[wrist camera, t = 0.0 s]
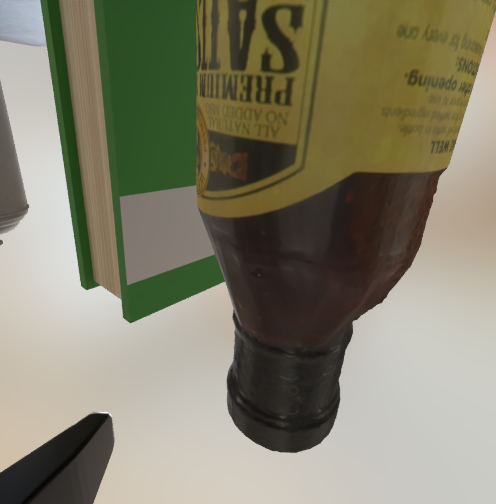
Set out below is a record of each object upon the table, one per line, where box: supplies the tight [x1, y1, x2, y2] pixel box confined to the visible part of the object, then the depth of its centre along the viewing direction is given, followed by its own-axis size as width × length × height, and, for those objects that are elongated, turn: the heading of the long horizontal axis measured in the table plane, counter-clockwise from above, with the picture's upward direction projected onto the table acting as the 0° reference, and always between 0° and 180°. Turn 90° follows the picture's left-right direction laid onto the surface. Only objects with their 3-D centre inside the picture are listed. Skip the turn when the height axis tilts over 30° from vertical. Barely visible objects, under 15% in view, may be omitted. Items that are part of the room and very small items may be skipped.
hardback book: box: [41, 0, 225, 323], centre depth 28 cm, size 18×7×24 cm, turn 41°
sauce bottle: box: [196, 0, 496, 453], centre depth 9 cm, size 6×6×20 cm
